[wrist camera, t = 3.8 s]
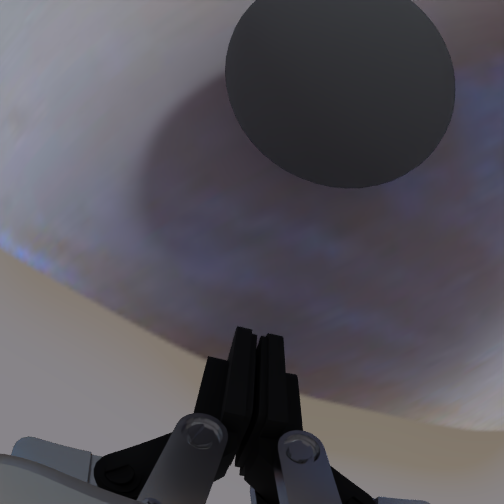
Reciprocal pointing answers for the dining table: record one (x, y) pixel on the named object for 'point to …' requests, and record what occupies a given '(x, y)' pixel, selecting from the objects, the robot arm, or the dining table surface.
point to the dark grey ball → (341, 87)
